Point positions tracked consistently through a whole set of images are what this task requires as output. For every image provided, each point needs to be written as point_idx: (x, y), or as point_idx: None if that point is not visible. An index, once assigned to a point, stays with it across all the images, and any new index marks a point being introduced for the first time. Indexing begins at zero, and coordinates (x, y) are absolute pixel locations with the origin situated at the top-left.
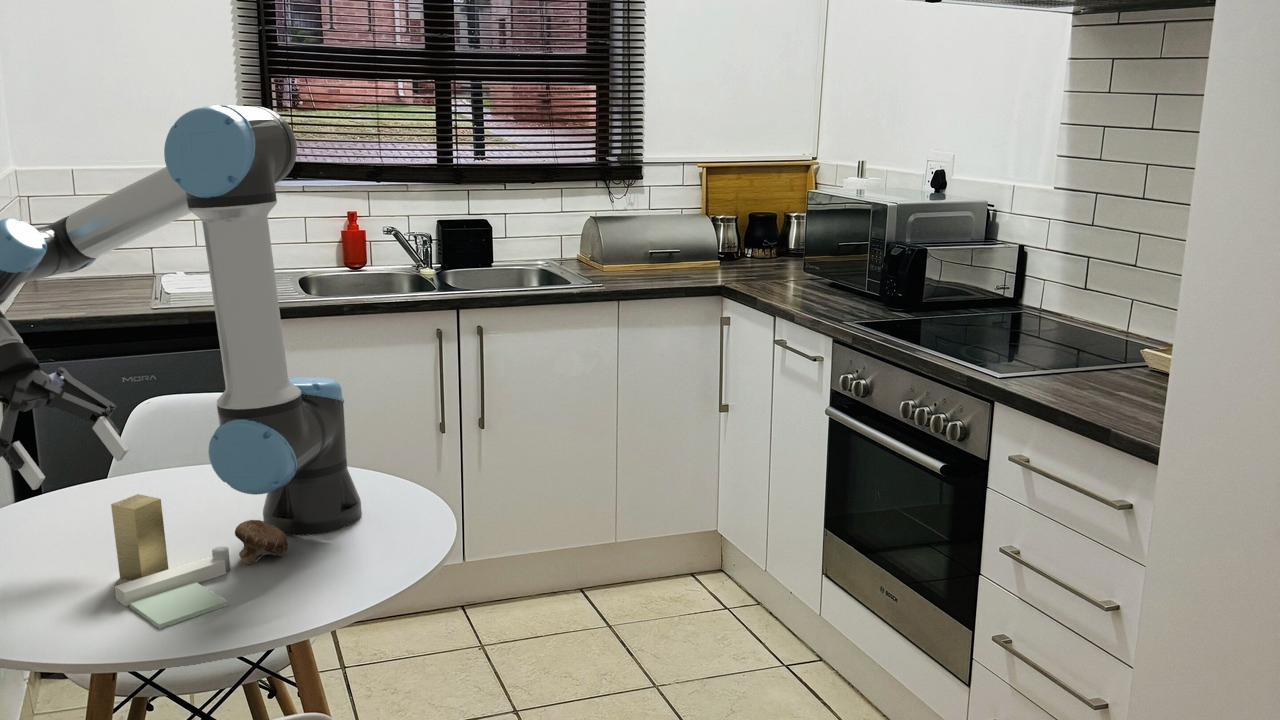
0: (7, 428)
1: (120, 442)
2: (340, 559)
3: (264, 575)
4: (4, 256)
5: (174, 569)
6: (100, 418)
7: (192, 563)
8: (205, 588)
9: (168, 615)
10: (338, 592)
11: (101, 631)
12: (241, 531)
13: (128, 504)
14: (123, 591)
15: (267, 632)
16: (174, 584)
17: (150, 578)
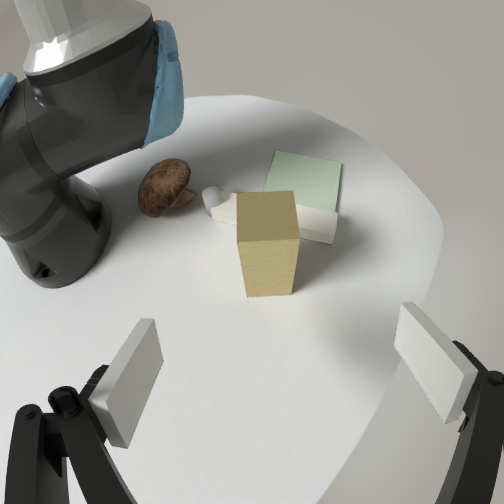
0: (497, 417)
1: (139, 333)
2: (151, 149)
3: (207, 171)
4: None
5: None
6: (107, 398)
7: None
8: (266, 181)
9: (326, 168)
10: (211, 114)
11: (377, 201)
12: (183, 176)
13: (283, 213)
14: (337, 215)
15: (291, 110)
16: None
17: (298, 218)
